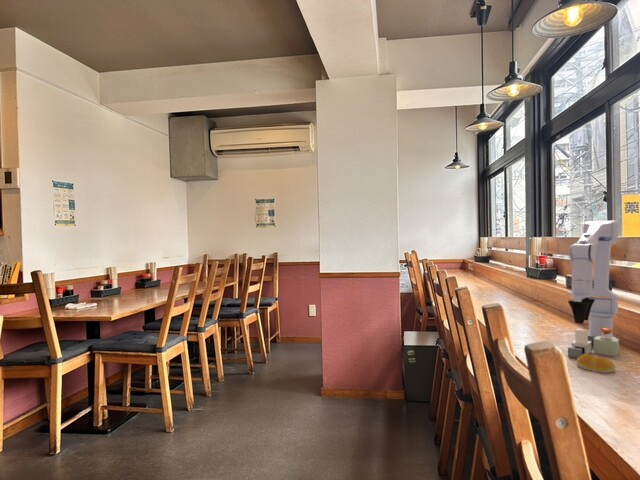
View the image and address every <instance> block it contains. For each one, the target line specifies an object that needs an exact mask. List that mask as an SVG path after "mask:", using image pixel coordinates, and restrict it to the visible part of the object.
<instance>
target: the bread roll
mask: <svg viewBox="0 0 640 480" xmlns="http://www.w3.org/2000/svg"><path fill="white" fill-rule="evenodd" d="M575 364H576V366H577V367H578V368H580V369H583V370H587V371H593V372H595V373H600V374H610V373H615V371H616V364H615V363H614V361H613V360H611V359H609V358H608V357H604V356H599V357H598V356H596V355H594V354H591V353H589V354H585V353H584V354H583V355H581V356H580V357H579V358H578V359H576V362H575Z"/></svg>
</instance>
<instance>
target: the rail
mask: <svg viewBox="0 0 640 480" xmlns="http://www.w3.org/2000/svg"><path fill="white" fill-rule="evenodd" d="M594 338H595V336H589V335H588V341H591V347H594ZM583 354H585V348H584V347H578V346H577V347H576V348H572V346H571V347H570V346H568V348H567V358H571V359H576V360H577V359H578V358H579V357H580V356H581V355H583Z"/></svg>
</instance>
